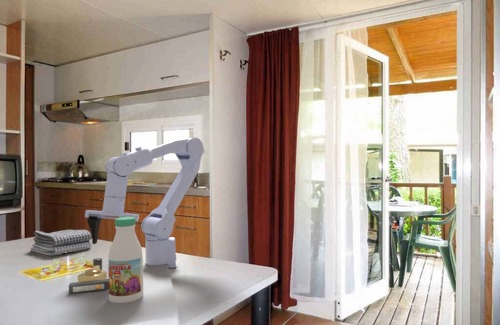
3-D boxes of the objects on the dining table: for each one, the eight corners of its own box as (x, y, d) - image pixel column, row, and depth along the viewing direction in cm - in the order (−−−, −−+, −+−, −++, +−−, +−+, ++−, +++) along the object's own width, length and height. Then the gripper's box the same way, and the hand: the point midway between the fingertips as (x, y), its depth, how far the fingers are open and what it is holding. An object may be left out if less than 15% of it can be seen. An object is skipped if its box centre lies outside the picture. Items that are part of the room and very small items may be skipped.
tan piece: (105, 286, 88) (105, 272, 88) (75, 289, 86) (75, 275, 86) (111, 269, 103) (110, 257, 103) (85, 271, 101) (85, 259, 101)
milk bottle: (114, 296, 85) (113, 215, 85) (146, 295, 86) (145, 215, 86) (104, 309, 78) (102, 221, 77) (139, 308, 78) (137, 220, 78)
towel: (54, 258, 122) (53, 236, 122) (29, 251, 132) (28, 231, 132) (93, 249, 135) (93, 228, 135) (68, 243, 145) (68, 224, 145)
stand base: (130, 274, 102) (130, 263, 102) (127, 294, 87) (127, 280, 87) (70, 280, 97) (70, 268, 97) (56, 302, 82) (56, 288, 82)
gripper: (84, 194, 95) (77, 244, 94) (138, 199, 97) (132, 248, 96) (91, 194, 102) (85, 241, 101) (142, 199, 104) (136, 244, 103)
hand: (108, 244), depth 99 cm, fingers open, 7 cm apart
